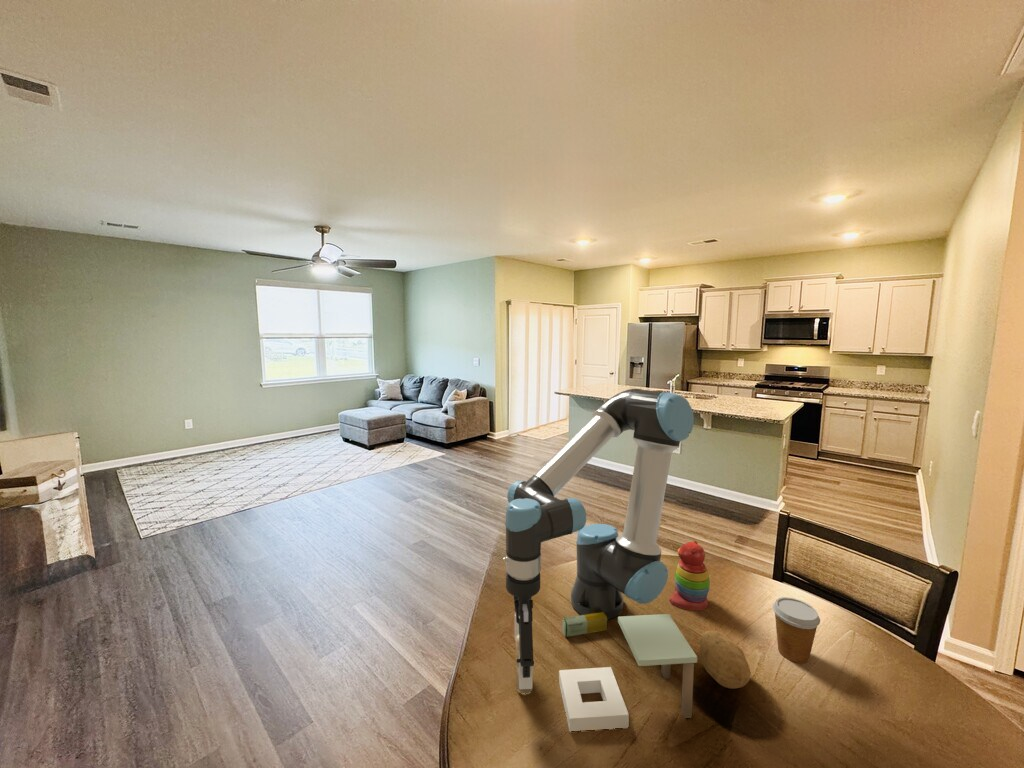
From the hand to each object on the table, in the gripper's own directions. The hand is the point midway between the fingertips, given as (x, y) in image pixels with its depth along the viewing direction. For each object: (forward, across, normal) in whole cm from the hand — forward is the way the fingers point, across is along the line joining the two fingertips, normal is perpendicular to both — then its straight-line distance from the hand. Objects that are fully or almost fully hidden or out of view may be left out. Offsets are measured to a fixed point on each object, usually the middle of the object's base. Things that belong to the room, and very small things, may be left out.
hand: (522, 662), depth 91 cm
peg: (+7, 0, 0) cm, 7 cm away
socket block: (+6, +5, +14) cm, 16 cm away
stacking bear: (+6, -27, +52) cm, 59 cm away
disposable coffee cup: (+6, -5, +67) cm, 68 cm away
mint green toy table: (+6, +4, +28) cm, 29 cm away
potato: (+6, 0, +46) cm, 47 cm away
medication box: (+7, -17, +18) cm, 26 cm away
